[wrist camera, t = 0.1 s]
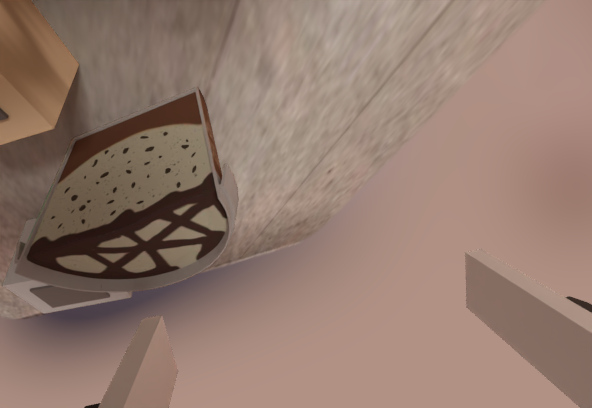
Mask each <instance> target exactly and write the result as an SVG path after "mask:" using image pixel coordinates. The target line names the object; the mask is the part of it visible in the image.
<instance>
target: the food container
mask: <svg viewBox="0 0 592 408" xmlns="http://www.w3.org/2000/svg"><path fill="white" fill-rule="evenodd" d="M237 206H238V187H237V184H236V181H235V178H234V175H233V173H232V171H231V169H230V168H229V166H228V164H224V169H223V175H222V172H221V168H220V163H219V159H218V155H217V150H216V146H215V141H214V137H213V132H212V128H211V123H210V119H209V114H208V110H207V106H206V103H205V100H204V97H203V95H202V93H201V91H200V90H199V88H198V87H195V88H193V89H191V90H188V91H186V92H183V93H181V94H178V95H176V96H174V97H171V98H169V99H166V100H164V101H161V102H159V103H157V104H154V105H152V106H149V107H147V108H145V109H142V110H140V111H137V112H135V113H132V114H130V115H128V116H125V117H123V118H120V119H118V120H115V121H113V122H111V123H108V124H106V125H103V126H101V127H99V128H96V129H94V130H91V131H89V132H86V133H84V134H82V135H79V136H77V137H74V138H73V139H72V141H71V143H70V145H69V148H68V150H67V152H66V154H65V157H64V159H63V161H62V164H61V166H60V168H59V170H58V173H57V175H56V177H55V179H54V182H53V184H52V186H51V188H50V191H49V193H48V195H47V198H46V200H45V202H44V204H43V207H42V209H41V211H40V213H39V216H38V218H37V220H36V222H35V225H34V227H33V229H32V232H31V234H30V236H29V238H28V241H27V243H26V244H25V243H23V242H21V241H20V242H19V243H18V244H17V250H16V255H15V261H14V264H16V265H17V266H16V269H15V272H14V273H16V274H18V275H20V276H23V277H25V278H28V279H31V280H34V281H37V282H40V283H44V284H47V285H52V286H56V287H61V288H65V289H72V290H79V291H89V292H111V293H118V292H134V291H142V290H149V289H154V288H159V287H164V286H167V285H171V284H174V283H177V282H180V281H183V280H185V279H188V278H190V277H192V276H194V275H196V274H198V273H200V272H202V271H203V270H204V269H206V268H207V267H209V266H210V265H212V264H213V263H214V262H215V261H216V260H217V259H218V258H219V257H220V255H221V254H222V253H223V251H224V250H225V248H226V246H227V244H228V242H229V239H230V237H231V235H232V233H233V230H234V225H235V219H236V213H237Z"/></svg>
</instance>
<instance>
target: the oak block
mask: <svg viewBox="0 0 592 408" xmlns="http://www.w3.org/2000/svg"><path fill="white" fill-rule="evenodd" d="M78 66H79V64H78V62H77V61H76V60H75V58H74V57H73V56H72V54H71V53H70V52H69V50H68V49H67V48H66V46H65V45H64V44H63V42H62V41H61V40H60V38H59V37H58V36H57V34H56V33H55V32H54V30H53V29H52V28H51V26H50V25H49V24H48V22H47V21H46V20H45V19H44V17H43V16H42V15H41V13H40V12H39V11H38V9H37V8H36V7H35V5H34V4H33V3H32V1H31V0H0V145H2V144H5V143H9V142H12V141H15V140H19V139H22V138H25V137H29V136H32V135H35V134H39V133H42V132H45V131H49V130H52V129H54V128H55V125H56V123H57V120H58V118H59V115H60V112H61V110H62V107H63V105H64V102H65V100H66V97H67V95H68V92H69V89H70V87H71V84H72V82H73V79H74V77H75V74H76V71H77V69H78Z"/></svg>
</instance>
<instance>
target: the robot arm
mask: <svg viewBox="0 0 592 408" xmlns="http://www.w3.org/2000/svg"><path fill="white" fill-rule="evenodd" d="M465 257H466V258H465V259H466V261H465V262H466V304H467V308H468V309H469V310H470V311H471V312H472V313H474V314H475V315H476V316H477V317H478V318H479V319H481V320H482V321H483V322H484V323H485V324H486V325H487V326H488V327H489V328H491V329H492V330H493V331H494V332H495V333H496V334H497V335H499V336H500V337H501V338H502V339H503V340H504V341H505V342H506V343H508V344H509V345H510V346H511V347H512V348H513V349H514V350H516V351H517V352H518V353H519V354H520V355H521V356H522V357H523V358H525V359H526V360H527V361H528V362H529V363H530V364H531V365H532V366H534V367H535V368H536V369H537V370H538V371H539V372H540V373H542V374H543V375H544V376H545V377H546V378H547V379H548V380H549V381H551V382H552V383H553V384H554V385H555V386H556V387H557V388H559V389H560V390H561V391H562V392H563V393H564V394H565V395H566V396H568V397H569V398H570V399H571V400H572V401H574V403H576V404H577V405H578V406H579V407H580V408H592V305H591V304H589V303H587V302H584V301H581V300H578V299H575V298H573V297H563V296H562V295H560V294H558V293H556V292H554V291H553V290H551V289H550V288H548V287H546V286H544V285H543V284H541V283H539V282H537V281H536V280H534V279H532V278H531V277H529V276H527V275H525V274H524V273H522V272H520V271H518V270H517V269H515V268H513V267H512V266H510V265H508V264H506V263H505V262H503V261H501V260H499V259H498V258H496V257H494V256H493V255H491V254H489V253H487V252H486V251H484V250H482V249H479V250H475V251H470V252H466V253H465ZM177 373H178V369H177V366H176V362H175V359H174V355H173V352H172V349H171V345H170V342H169V338H168V335H167V331H166V328H165V324H164V321H163V317H162V315H159V316H154V317H149V318H144V319H142V321H141V323H140V325H139V327H138V329H137V331H136V333H135V335H134V337H133V339H132V341H131V343H130V345H129V347H128V349H127V351H126V353H125V355H124V357H123V359H122V361H121V363H120V365H119V367H118V369H117V371H116V373H115V375H114V377H113V379H112V381H111V383H110V385H109V387H108V389H107V391H106V393H105V395H104V397H103V399H102V401H101V403H99V404H94V405H90V406H86V407H85V408H169V404H170V400H171V396H172V392H173V389H174V385H175V381H176V377H177Z"/></svg>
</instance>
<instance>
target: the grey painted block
mask: <svg viewBox="0 0 592 408" xmlns="http://www.w3.org/2000/svg"><path fill="white" fill-rule="evenodd" d="M36 220H37V218H36V219H30V220H27V221H26V223H25V226H24V229H23V231H22V234H21V237H20V239H19V242H20V241H21V242H23V243H25V244H26V243H27V241H28V238H29V236H30V234H31V232H32V229H33V227H34V225H35V222H36ZM19 242H18V243H19ZM16 250H17V247H16ZM16 250H15V253H14V255H13V258H12V261H11V263H10V266H9V269H8V271H7V274H6V277H5V279H4V282H3V285H2V286H3V287H5V288H6V289H8V290H9V291H11V292H12V293H14V294H15V295H17V296H18V297H20V298H21V299H23V300H24V301H26V302H27V303H29V304H30V305H32V306H33V307H35V308H36V309H37V310H39V311H40V312H42V313H43V314H44V313H50V312H55V311H60V310H66V309H71V308H77V307H82V306H88V305H93V304H99V303H104V302H109V301H115V300H120V299H126V298H131V297H132V292H118V293H111V292H89V291H79V290H72V289H65V288H61V287H56V286H52V285H47V284H44V283H40V282H37V281H34V280H31V279H28V278H25V277H23V276H20V275H18V274H16V273H14V272H15V269H16V266H17V265H16V264H14V261H15V255H16Z"/></svg>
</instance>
